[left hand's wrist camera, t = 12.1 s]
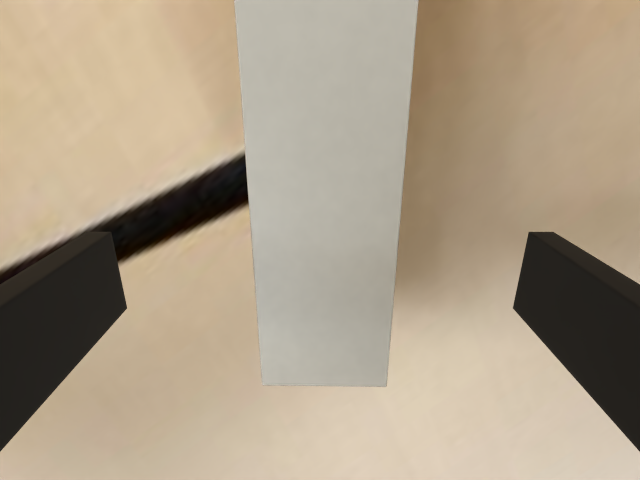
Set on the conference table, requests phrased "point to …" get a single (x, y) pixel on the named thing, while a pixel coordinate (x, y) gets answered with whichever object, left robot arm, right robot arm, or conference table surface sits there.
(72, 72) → the conference table surface
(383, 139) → the beam
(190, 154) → the conference table surface
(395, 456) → the conference table surface
